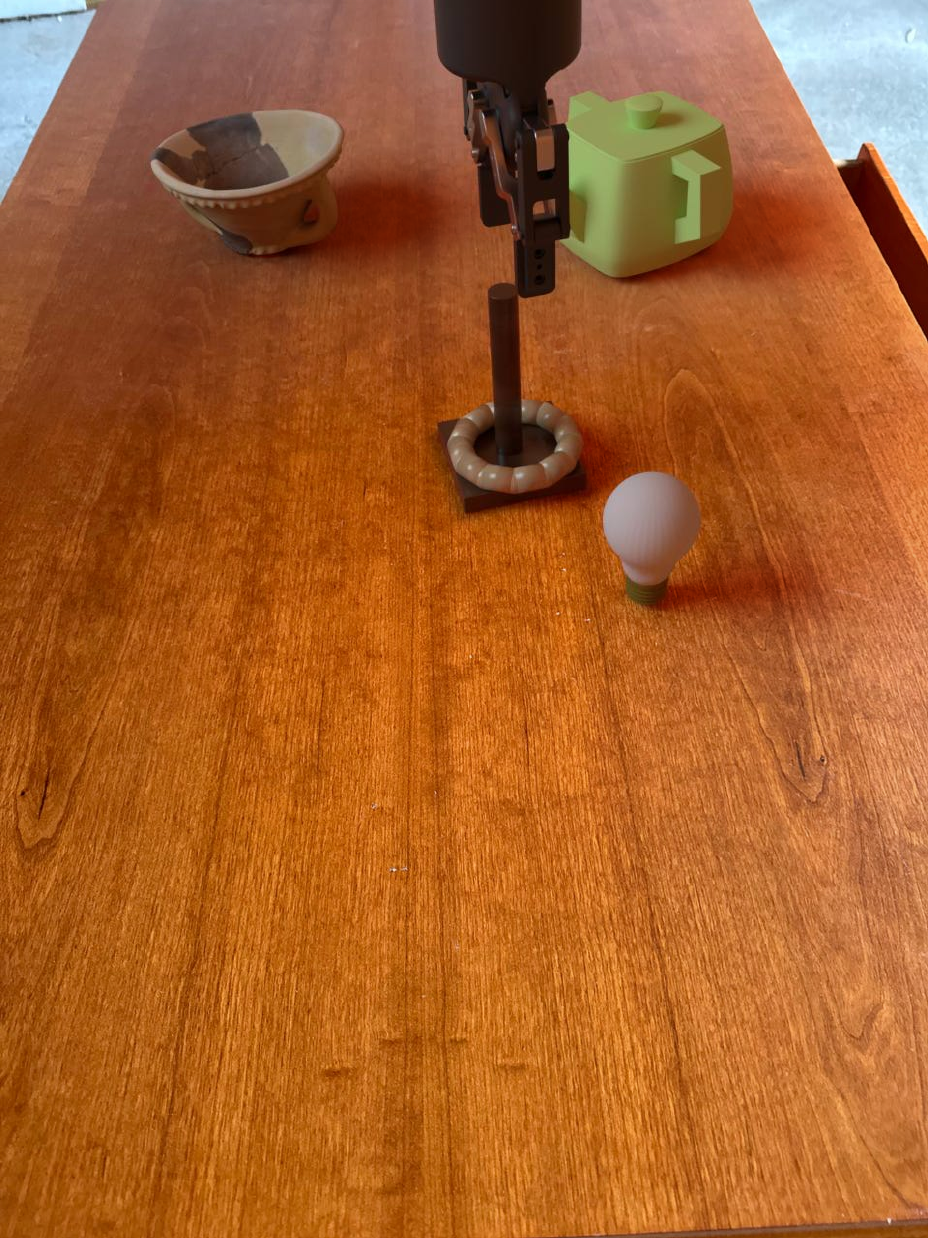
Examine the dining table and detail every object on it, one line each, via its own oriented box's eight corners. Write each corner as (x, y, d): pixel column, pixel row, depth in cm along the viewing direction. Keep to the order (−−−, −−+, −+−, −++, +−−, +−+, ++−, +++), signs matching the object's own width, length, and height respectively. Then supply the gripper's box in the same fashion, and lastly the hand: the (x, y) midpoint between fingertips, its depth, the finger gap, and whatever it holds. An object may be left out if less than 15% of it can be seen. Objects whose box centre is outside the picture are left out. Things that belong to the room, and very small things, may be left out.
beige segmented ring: (560, 403, 87) (560, 383, 86) (598, 483, 81) (598, 463, 79) (438, 426, 86) (436, 407, 85) (465, 509, 80) (464, 489, 78)
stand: (551, 415, 88) (550, 244, 78) (586, 489, 82) (589, 315, 72) (438, 437, 88) (421, 267, 77) (465, 513, 82) (450, 341, 71)
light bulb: (667, 644, 72) (679, 529, 65) (584, 612, 74) (587, 497, 67) (705, 585, 75) (721, 469, 68) (624, 556, 78) (631, 440, 70)
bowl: (392, 210, 112) (380, 113, 105) (292, 306, 101) (272, 204, 94) (244, 180, 118) (224, 86, 111) (135, 267, 107) (106, 169, 100)
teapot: (599, 335, 95) (603, 186, 86) (475, 236, 107) (467, 96, 98) (770, 264, 101) (792, 117, 91) (634, 178, 113) (641, 40, 103)
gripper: (624, -4, 52) (613, 307, 64) (540, -95, 62) (544, 191, 73) (464, 21, 51) (483, 332, 63) (404, -75, 61) (430, 211, 73)
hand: (516, 256), depth 68 cm, fingers open, 8 cm apart
